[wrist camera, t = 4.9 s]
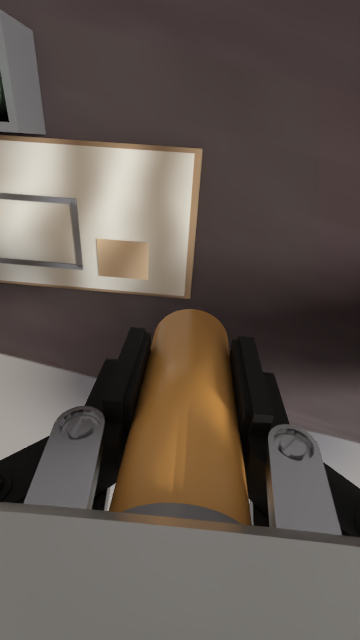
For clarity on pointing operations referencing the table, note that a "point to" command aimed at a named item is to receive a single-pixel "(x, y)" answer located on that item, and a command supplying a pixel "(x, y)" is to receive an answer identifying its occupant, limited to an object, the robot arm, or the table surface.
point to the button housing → (20, 78)
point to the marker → (185, 429)
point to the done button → (2, 98)
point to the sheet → (98, 215)
